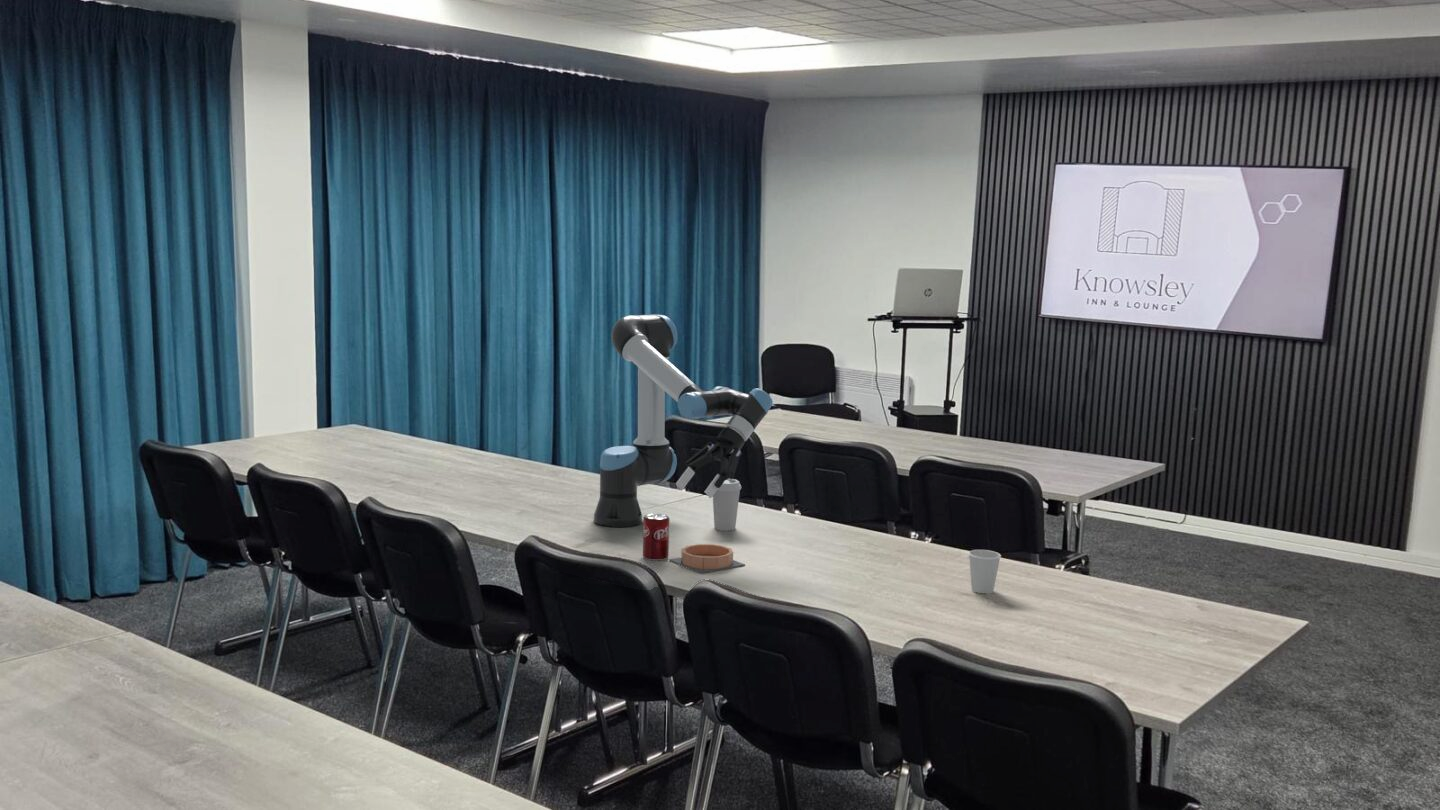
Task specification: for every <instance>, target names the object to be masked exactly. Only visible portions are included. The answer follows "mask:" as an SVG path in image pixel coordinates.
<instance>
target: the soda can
mask: <svg viewBox="0 0 1440 810" xmlns="http://www.w3.org/2000/svg"><path fill="white" fill-rule="evenodd" d="M642 523H643V524H642V525H643V527H642V528H643V529H642V558H644V559H645V560H646V559H647V561H650V560H655V561H654V562H659V561H658V560H662V561H665V560H667V559H668V558H669V556H670V555H669V553H670V552H669V551H670V549H669V548H670V516H668V515H667V514H664V513H647V514H645V515H644V517H642Z"/></svg>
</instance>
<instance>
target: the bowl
mask: <svg viewBox="0 0 1440 810" xmlns="http://www.w3.org/2000/svg"><path fill="white" fill-rule="evenodd" d="M680 553H681V554H680V555H681V556H680V557H675V558H671V559H668V561H669V560H670V561H669V562H671V561H672V562H671V563H673V562H675V563H674V564H676V563H677V564H676V565H678V564H680V565H679V566H681V565H682V566H681V567H683V566H685V567H684V568H686V567H687V569H688V568H689V569H688V570H691V569H692V570H691V571H693V570H694V571H693V572H696V571H697V572H696V573H698V572H699V574H702V573H703V574H708V573H713V572H719V571H724V570H730V569H735V568H740V567H744V566H746V564H745V563H742V562H740V561H737V560H735V559H734V551H733V549H732V548H731V547H727V546H726V545H722V544H720V545H719V544H712V543H696V544H690V545H685V547H683V548H681V551H680ZM703 574H702V575H703Z"/></svg>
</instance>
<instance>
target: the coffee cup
mask: <svg viewBox="0 0 1440 810" xmlns="http://www.w3.org/2000/svg"><path fill="white" fill-rule="evenodd" d="M741 489H742V485H741V483H740V481H739V480H738V479H736V478H735V479H734V478H733V479H730V478H729V479H727V480H725V481H724V483H723V484H722V485H721V487H720V488H718V490H717V491H716V492H715V494H714V495H713V496H712V506H713V507H712V509H713V525H714V527H713V528H714V529H715V530H717V531H722V532H731V531H735V530H736V524H737V517H738V508H739V500H740V493H741V492H740V491H741ZM728 530H729V531H728ZM730 530H731V531H730Z"/></svg>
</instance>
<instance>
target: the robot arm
mask: <svg viewBox="0 0 1440 810" xmlns="http://www.w3.org/2000/svg"><path fill="white" fill-rule="evenodd" d="M610 334H611V335H610V339H611V344H612V346H613V347H614V349H615V351H616V352H617V354H618V355H619V356H620V357H621V358H622V359H624V360H625V361H627V362H632V363H633V364H634V365H636V366H637V368H638V369H637V436H636V438H635V439H634V440H633V441H632V445H621V446H619V445H617V446H616V445H615V446H611V447H609V448H606V449H604V450H603V451H602V453H601V455H600V462H599V468H600V469H599V498H598V502H597V505H596V508H595V511H594V513H593V522H594V523H595V524H596V523H597V525H599V524H600V525H599V526H603V525H605V526H604V527H609V526H612V527H613V528H629V527H633V526H634V525H635V526H638V525H640V524H641V522H642V523H643V514H642V511H641V507H640V503H639V501H638V487H640V486H646V485H651V484H654V485H655V484H659V483H662V482H666V481H668V480H670V479H671V478H672V477H673V475H674V474H675V472H676V469H677V465H678V463H677V461H678V459H677V455H676V453H675V450H674V449H673V448H672V447H671V446H670V441H669V440H668V439H667V438H666V437H665V434H666V433H665V428H666V426H665V420H666V419H665V416H666V415H665V413H666V412H665V411H666V408H665V406H666V404H665V403H666V402H665V401H666V399H665V398H666V395H665V394H667V395H669V396H670V397H671V398H672V399H673V400H674V401H676V403H677V409H678V411H679V413H680V416H682V417H683V418H684V419H687V420H689V419H691V420H692V419H694V420H696V419H697V420H698V419H702V418H709V417H710V418H711V417H716V416H717V417H719V416H725V415H726V416H731V417H730V418H729V420H728V421H727V422H726V424H725V427H723V428H722V430H721V431H720V432H719V434H718V435H717V442H716V443H714V444H713V443H712V442H711V441H708V442H707V443H706V444H705V445H704V446H703V447H702V448H701V449H700V450H698V451H697V452H696V453H694V454H693V455H692V456H690V458H688V459H687V460H686V461H685V462H684V464H685V465H686V469H685V470H684V471H683V473H682V474H681V476H680V477H679V479H678V480H677V481H676V483H675V485H676V487H677V488H678V489H679V490H680V491H683V490H684V489H685V487H686V485H688V483H689V482H690V480H691V479H692V478H693V477H694V475H695V474H696V471H697V470H698V469H700V468H703V467H704V466H705V465H707V464H708V463H710V462H715V461H718V462H720V466H719V467H720V470H719V472H718V473H717V474H716V475H715V476H714V478H713V480H711V482H710V483H709V484H708V486H707V487H706V489H705V490H704V493H705V495H706V496H707V497H708V498H709V499H713V495H714V494H715V492H716V491H717V490H718V488H720V487H721V485H722V484H723V483H724V481H725V480H727V479H734V478H735V474H736V470H737V467H738V464H739V460H740V459H741V457H742V456H743V453H742V451H741V449H742V447H744V445H745V443H746V441H748V439H749V438H750V436H751V435H752V434H753V432H754V431H755V429H756V428H757V427H758V426H759V425H760V423H761V421H762V420H764V418H765V416H766V415H768V412H769V411H770V410H771V407H772V406H773V404H774V401H773V399H772V397H771V395H770V394H768V392H766V391H765V390H763V389H761V388H753V389H752V390H751V391H749V394H748V393H745V392H742V391H738V390H735V389H732V388H729V387H726V386H721V385H719V386H715V387H714V388H713V389H711V390H707V391H705V390H702V389H701V387H699V386H698V385H696V384H695V383H694V382H693V381H692V380H691V379H690V378H689V377H687V375H685V374H684V372H682V371H681V370H680V369H679V368H677V367H676V366H675V365H674V364H673V363H672V362H671V361H670V360H669V359H670V357H671V356H670V355H671V354H670V353H671V352H670V351H671V350H673V349H674V348H675V347H676V345H677V343H678V330H677V327H676V325H675V323H674V321H672V319H671V318H669V316H666V315H664V314H637V315H634V314H632V315H626V316H624V317H621V318H619V319H618V320H617V321H616V322H615V324H614V325H613V326H612V330H611V333H610Z"/></svg>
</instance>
